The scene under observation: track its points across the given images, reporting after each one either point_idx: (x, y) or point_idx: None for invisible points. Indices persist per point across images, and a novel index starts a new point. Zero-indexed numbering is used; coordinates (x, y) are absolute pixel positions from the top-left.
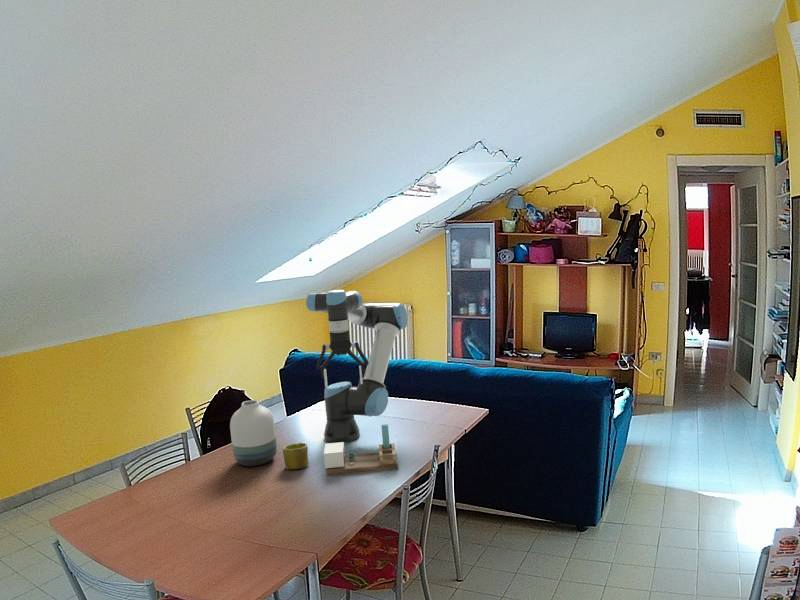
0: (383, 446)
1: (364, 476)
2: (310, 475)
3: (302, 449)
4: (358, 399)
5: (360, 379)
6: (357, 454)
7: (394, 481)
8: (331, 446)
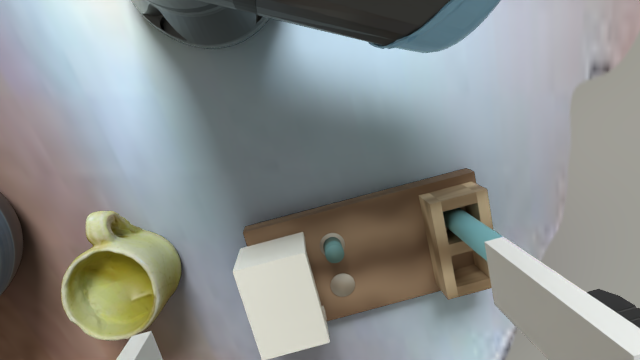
0: (453, 232)
1: (389, 319)
2: (220, 324)
3: (156, 317)
4: (340, 16)
5: (524, 330)
6: (341, 207)
7: (479, 342)
8: (268, 297)
